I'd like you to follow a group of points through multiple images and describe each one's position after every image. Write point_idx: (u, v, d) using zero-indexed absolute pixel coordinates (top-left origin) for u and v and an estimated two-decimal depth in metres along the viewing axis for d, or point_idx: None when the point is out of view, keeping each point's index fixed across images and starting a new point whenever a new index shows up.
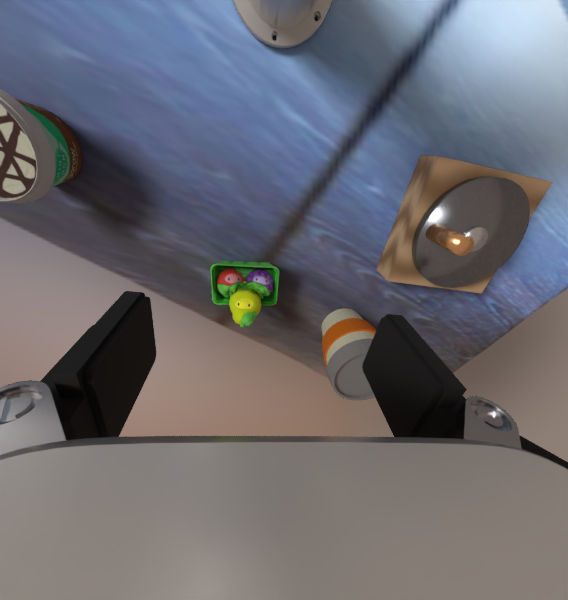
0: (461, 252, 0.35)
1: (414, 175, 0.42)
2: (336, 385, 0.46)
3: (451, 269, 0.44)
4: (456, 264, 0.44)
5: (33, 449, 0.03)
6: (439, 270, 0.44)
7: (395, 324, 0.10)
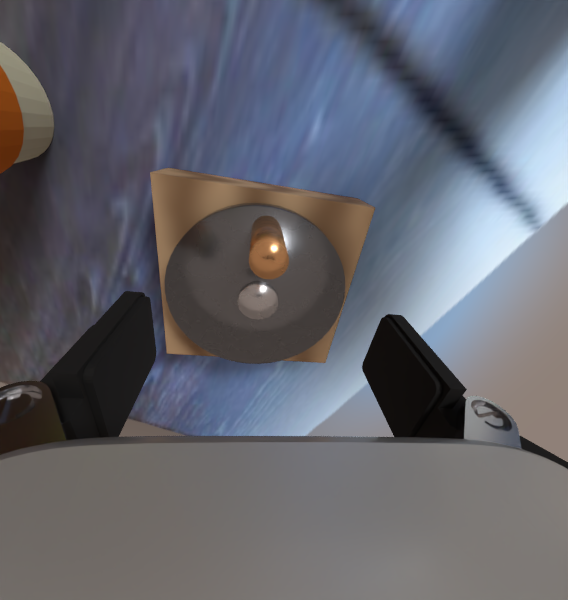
0: (256, 259, 0.17)
1: (333, 195, 0.28)
2: None
3: (201, 287, 0.25)
4: (212, 292, 0.25)
5: (33, 449, 0.03)
6: (196, 267, 0.24)
7: (395, 324, 0.10)
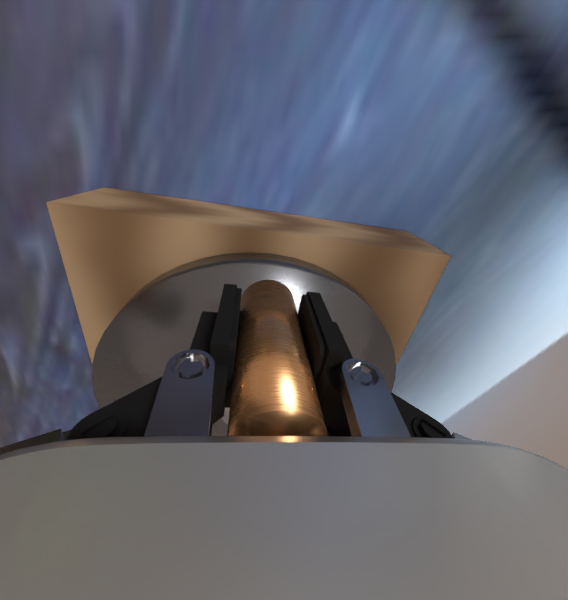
0: None
1: (371, 227, 0.18)
2: None
3: None
4: None
5: (33, 449, 0.03)
6: (145, 361, 0.14)
7: (309, 300, 0.10)
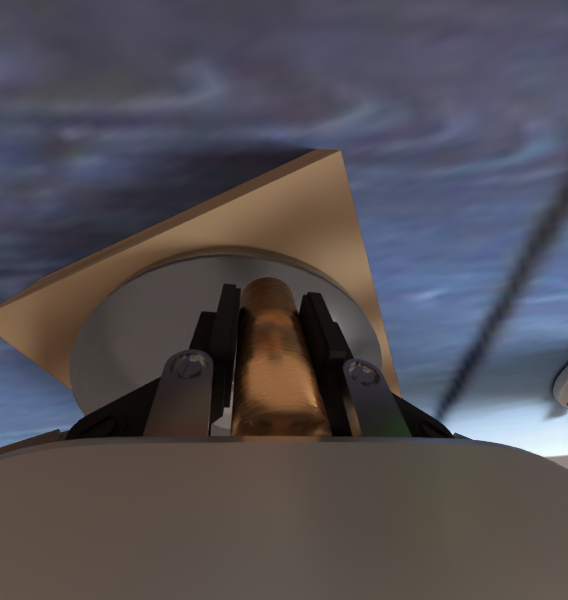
0: None
1: None
2: None
3: (140, 379, 0.14)
4: None
5: (33, 449, 0.03)
6: (130, 349, 0.13)
7: (310, 300, 0.10)
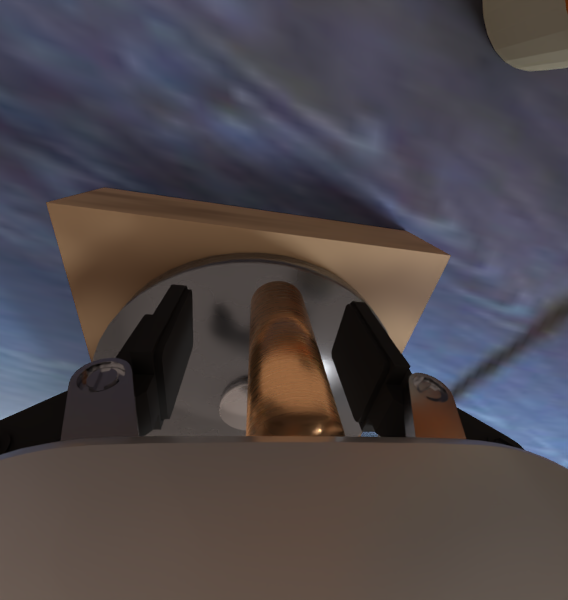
0: None
1: None
2: None
3: None
4: None
5: (33, 449, 0.03)
6: None
7: (357, 310, 0.10)
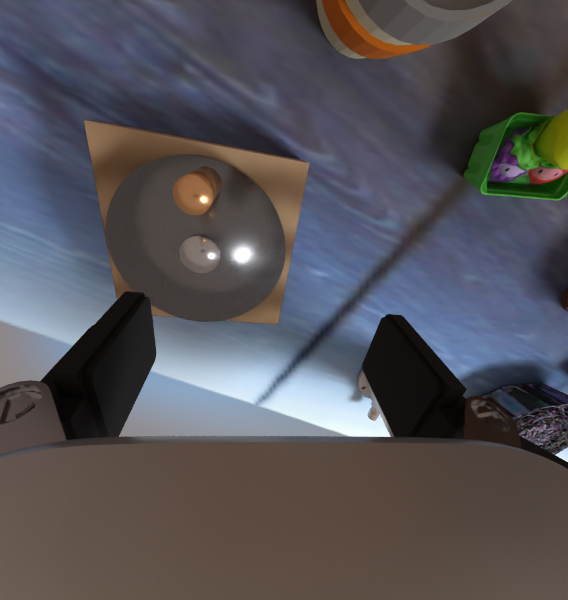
0: (180, 193, 0.18)
1: None
2: None
3: (143, 236, 0.26)
4: (155, 242, 0.26)
5: (33, 449, 0.03)
6: (137, 214, 0.25)
7: (395, 324, 0.10)
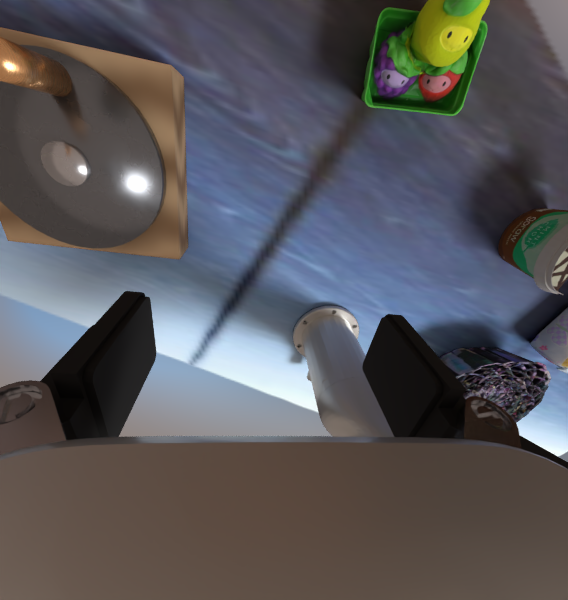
0: None
1: (187, 228, 0.37)
2: None
3: (3, 142, 0.25)
4: (17, 150, 0.25)
5: (33, 449, 0.03)
6: None
7: (395, 324, 0.10)
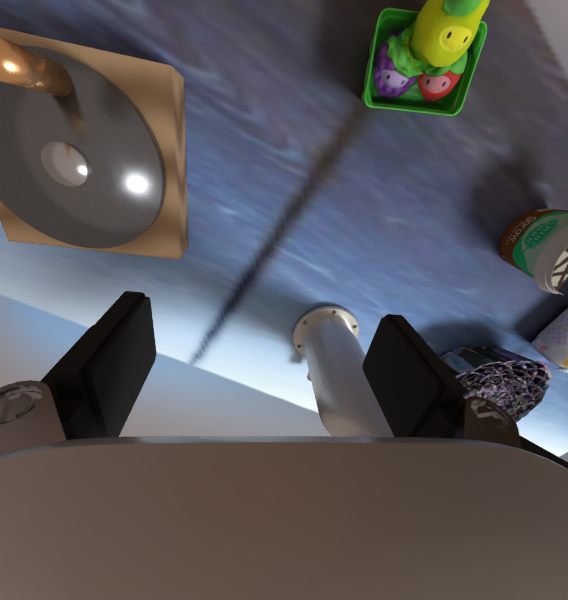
0: None
1: (187, 228, 0.37)
2: None
3: (3, 142, 0.25)
4: (17, 150, 0.26)
5: (33, 449, 0.03)
6: None
7: (395, 324, 0.10)
